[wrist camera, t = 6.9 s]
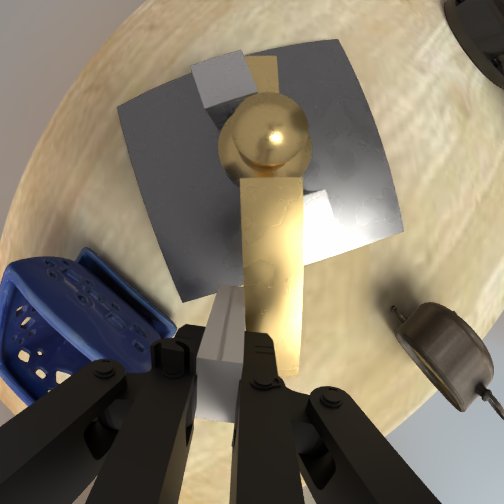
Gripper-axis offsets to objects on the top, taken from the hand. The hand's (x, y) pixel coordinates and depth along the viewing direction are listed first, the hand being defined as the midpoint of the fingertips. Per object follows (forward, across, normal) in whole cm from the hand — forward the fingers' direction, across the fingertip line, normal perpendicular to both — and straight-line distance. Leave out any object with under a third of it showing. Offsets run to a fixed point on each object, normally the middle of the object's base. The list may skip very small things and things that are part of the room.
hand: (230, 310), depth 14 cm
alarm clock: (+10, +19, -5) cm, 22 cm away
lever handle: (+4, +1, +6) cm, 8 cm away
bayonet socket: (+10, +1, +9) cm, 13 cm away
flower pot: (+10, -12, -8) cm, 18 cm away
